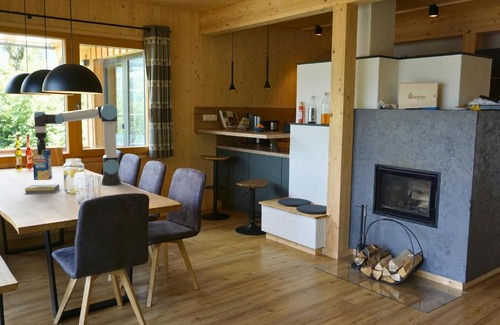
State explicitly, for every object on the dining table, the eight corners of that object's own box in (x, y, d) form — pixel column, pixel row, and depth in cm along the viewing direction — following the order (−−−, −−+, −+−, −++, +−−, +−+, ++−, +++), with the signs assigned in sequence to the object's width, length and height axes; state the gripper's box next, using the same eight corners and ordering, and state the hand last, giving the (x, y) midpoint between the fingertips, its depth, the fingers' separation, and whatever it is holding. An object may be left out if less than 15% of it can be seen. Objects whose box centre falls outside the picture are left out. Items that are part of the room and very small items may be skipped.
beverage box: (49, 179, 332) (47, 150, 329) (33, 180, 331) (32, 150, 328) (52, 178, 338) (50, 149, 335) (37, 178, 337) (35, 149, 334)
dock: (59, 189, 341) (59, 184, 341) (53, 193, 328) (53, 187, 327) (32, 190, 339) (31, 184, 338) (25, 193, 326) (24, 188, 325)
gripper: (39, 131, 337) (41, 162, 340) (31, 132, 322) (33, 165, 325) (49, 131, 337) (51, 162, 341) (42, 132, 323) (44, 165, 326)
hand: (42, 163), depth 333 cm, fingers closed on beverage box, 2 cm apart
